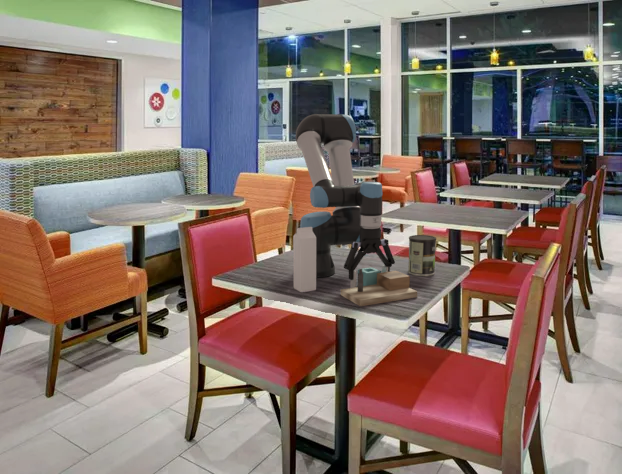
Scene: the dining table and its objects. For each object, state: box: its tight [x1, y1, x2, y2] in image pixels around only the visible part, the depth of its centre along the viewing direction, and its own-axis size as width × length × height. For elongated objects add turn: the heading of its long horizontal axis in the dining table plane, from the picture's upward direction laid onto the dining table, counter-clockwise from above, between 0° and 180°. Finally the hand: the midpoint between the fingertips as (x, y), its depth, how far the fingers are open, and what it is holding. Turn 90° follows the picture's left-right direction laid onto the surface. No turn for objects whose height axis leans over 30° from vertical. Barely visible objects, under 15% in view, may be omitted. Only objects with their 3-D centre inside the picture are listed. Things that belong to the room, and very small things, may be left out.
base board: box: [340, 268, 418, 307], centre depth 182 cm, size 13×22×10 cm, turn 116°
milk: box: [292, 227, 317, 293], centre depth 189 cm, size 6×6×22 cm
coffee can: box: [407, 234, 437, 277], centre depth 211 cm, size 10×10×14 cm
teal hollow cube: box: [357, 266, 382, 286], centre depth 193 cm, size 6×6×6 cm
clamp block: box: [377, 270, 411, 290], centre depth 187 cm, size 8×8×4 cm
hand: (369, 286), depth 194 cm, fingers open, 12 cm apart
